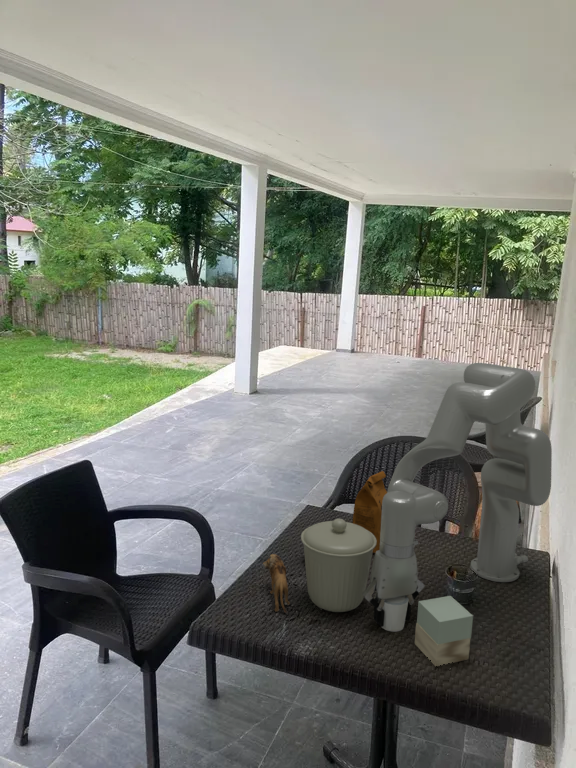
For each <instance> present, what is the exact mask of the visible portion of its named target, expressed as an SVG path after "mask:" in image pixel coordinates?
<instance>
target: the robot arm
mask: <svg viewBox="0 0 576 768" xmlns="http://www.w3.org/2000/svg"><path fill="white" fill-rule="evenodd" d="M535 388H536V379H535V377H534V375H533V374H532V373H531V371H528V370H526V369H523V368H520V367H518V368H517V367H511V366H504V365H498V364H492V363H483V362H475V363H474V362H473V363H471V364H469V365H467V366H466V367H465V369H464V371H463V382H462V381H461V382H455V383H452V384H451V385H449V386H448V388H446V390H445V392H444V395H443V398H442V400H441V402H440V405H439V408H438V410H437V413H436V416H435V418H434V420H433V422H432V425H431V427H430V430H429V433H428V434H427V436H426V438H425V439H424V440H423V441H421V442H420V443H418V444H417V445H415V446H414V447H413V448H412V449H411V450H409V451H408V452H407V453H406V454H405V455H404V456H403V457H402V458H401V459H400V461H399V462H398V463H397V465H396V467H395V469H394V471H393V474H392V477H391V479H390V482H389V484H388V488H387V490H386V491H387V494H385V495H384V497H383V501H382V516H381V533H380V549H379V550H378V551H376V553H374V557H373V561H372V563H371V568H370V569H371V571H370V577H369V578H370V579H369V585H368V586H367V587H366V590H365V591H364V592H363V593H362V595H363V597H364V598H363V599H365V600H366V601H367V602H368V603H369V604H371V605H372V606H373V617H372V618H373V620H374V622H375V623H376V624H377V625H378V626H379V627H380V628H382V627H383V626H384V610H383V609H382V608H383V606H384V604H385V603H384V602H385V601H386V599H389V598H394V597H399V596H404V595H406V597H407V598H409V601H408V606H407V612H406V618H405V622H410V621H411V620H410V619H411V613H412V605H414V604H415V600H416V599H417V597H418V596H419V594H420V593H421V591H422V590H423V589H424V588H425V584H424V583H423V582H422V581H421V580H419V578H418V561H417V560H418V559H417V555H416V552H415V547H416V546H418V545H419V541H418V540H419V539H417V538H416V537H415V535H416V526H419V525H427V524H435V523H437V522H440V521H441V520H442V519H444V518H445V516H446V514H447V513H448V510H449V502H448V501H449V500H448V499H447V498H446V496H445V494H443V493H442V492H440V491H438V490H435V489H433V488H431V487H427V486H425V485H422V484H419V483H417V482H414V480H415V478H416V476H417V474H418V473H419V471H420V470H421V468H423V467H424V466H426V465H427V464H429V463H431V462H434V461H437V460H440V459H445V458H446V459H447V458H451V457H456V456H459V455H461V454H462V453H463V451H464V449H465V446H466V443H467V440H468V437H469V435H470V434H471V431H472V428H473V425H474V424H475V422H478V423H481V424H485V446H486V449H487V451H488V453H490V455H492V456H494V458H491V459H489V460H487V461H486V462H484V464H483V466H482V467H481V470H480V483H481V484H480V485H481V491H482V493H481V495H482V498H481V500H482V501H481V503H482V504H481V513H480V524H479V525H480V526H479V534H478V547H477V556H476V557H475V558H473V559H472V560H471V561H470V569H471V570H472V569H473V570H474V571H475V572H476V573H477V574H478V575H477V574H476V575H477V576H478V577H480V578H483V579H485V580H486V581H487V580H488V581H492V582H496V583H510V582H514V581H516V580H517V579H519V577H520V569H519V568H518V566H519V565H520V564H524V563H528V561H529V558H528V556H527V555H525V554H524V555H519V556H518V553H516V551H517V550H516V548H517V539H518V531H519V529H518V528H519V521H520V520H519V519H520V509H519V506H518V505H519V504H517V503H523V504H524V505H528V506H533V507H540V506H543V505H544V504H545V503H546V502H547V501H548V499H549V497H550V493H551V491H552V465H553V464H552V461H553V460H552V459H553V458H552V456H553V455H552V454H553V453H552V442H551V439H550V437H549V435H548V434H547V433H546V432H544V431H543V430H541V429H538V428H534V427H531V426H530V427H529V426H527V425H524V424H522V420H521V419H522V418H521V408H522V407H524V406H525V405H526V404H527V403H528V402H529V401H531V398H532V397H533V395H534V392H535V390H536V389H535ZM495 457H497V458H495ZM374 593H375V594H374ZM373 594H374V596H373ZM379 599H380V601H379ZM378 601H379V603H378Z"/></svg>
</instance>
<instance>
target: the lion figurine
mask: <svg viewBox="0 0 576 768" xmlns="http://www.w3.org/2000/svg"><path fill="white" fill-rule="evenodd" d="M262 564H263V567H264V568H265V571H266V570H268V571H269V575H270V577H271V590H270V591H269V593H270V594H271V595H274V603H275V604H274V605H275V607H274V612H276V613H278V612H280V605H281V607H282V610H283V612H284V613H285V614H288V613H289V612H288V610H287V608H286V607H285V606H289V605H290V604H291V603H290V601H289V600H288V597H289V585H288V581H287V575H286V574H287V567H286V565H285V564H284V560H282V558H281V557H280V555H277V554H275V553H272V554H270V555H269V558H267V560H266V561H264V562H262ZM279 597H280V603H279ZM283 597H284V599H283ZM283 600H284V601H283Z"/></svg>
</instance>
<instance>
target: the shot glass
mask: <svg viewBox="0 0 576 768" xmlns="http://www.w3.org/2000/svg"><path fill="white" fill-rule="evenodd" d="M379 601H380V599H379ZM379 601H378V603H379ZM408 601H409V598H407V597H406V595H404V596H399V597H394V598H389V599H386V601H385V602H384V603H385V604H384V606H383V608H382V609H383V610H384V626H383V627H381V628H382V629H384V630H385V631H388V632H401V631H402V630H403V629H404V628H405V623H406V620H405V618H406V612H407V606H408Z"/></svg>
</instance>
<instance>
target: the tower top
mask: <svg viewBox="0 0 576 768" xmlns="http://www.w3.org/2000/svg"><path fill="white" fill-rule="evenodd" d="M417 603H418V605H417V606H418V607H417V617H416V623H418V624H419V625H420V626H421V627H422V628H423V629H424V630H425V632H426V633H427V634H428V635H429V636H430V637H431V638H432V639H433V640H434V641H435V642H436V643H437V644H443V643H448V642H453V641H458V640H463V639H468V638H470V639H471V638H472V631H473V622H474V621H473V620H474V615H473V614H472V613H470V612H469V611H468V610H467V608H465V607H464V606H463V605H462V604H460V603H459V602H458V601H457V600H456V599H454V598H453V596H451V595H446V596H440V597H436V598H430V599H429V598H428V599H424V600H418V602H417Z"/></svg>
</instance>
